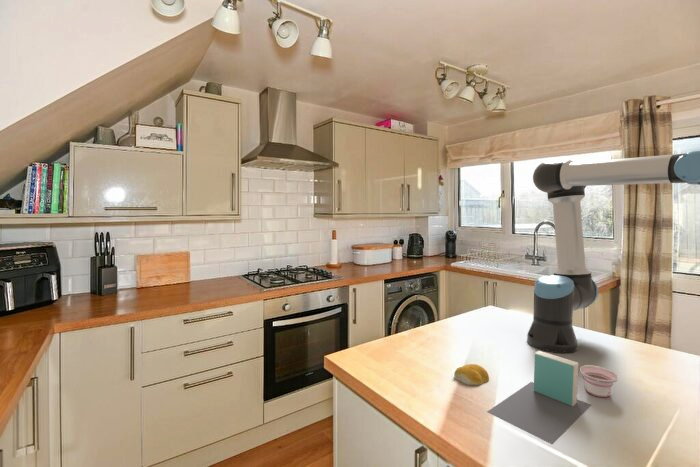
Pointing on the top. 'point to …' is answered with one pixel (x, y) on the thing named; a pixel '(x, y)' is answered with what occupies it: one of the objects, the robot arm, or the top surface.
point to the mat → (538, 413)
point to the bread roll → (471, 374)
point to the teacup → (598, 380)
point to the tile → (556, 377)
